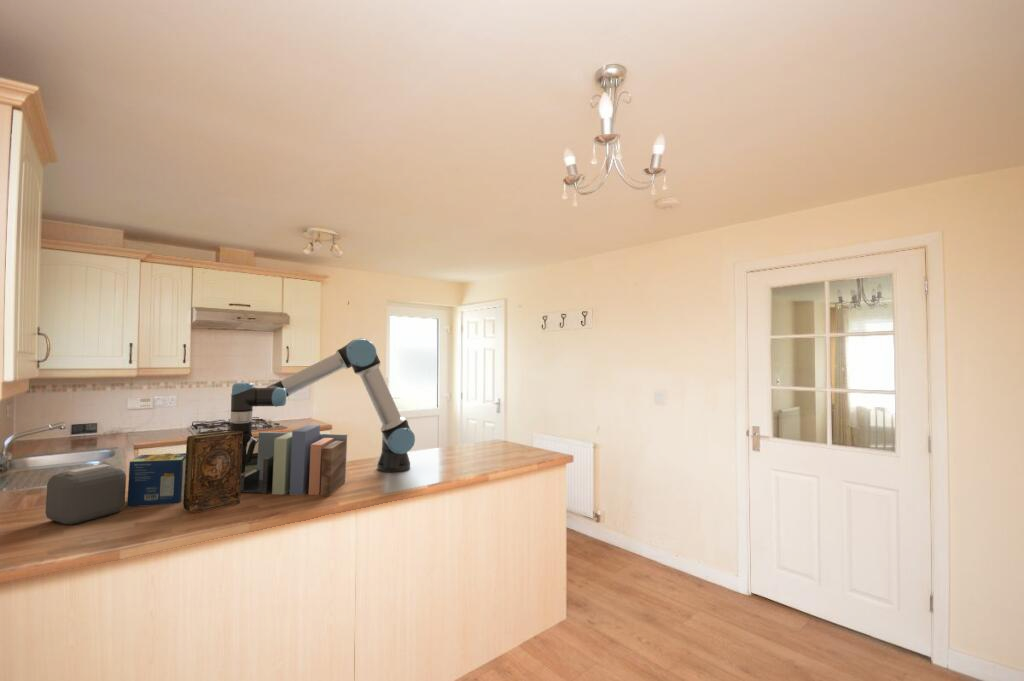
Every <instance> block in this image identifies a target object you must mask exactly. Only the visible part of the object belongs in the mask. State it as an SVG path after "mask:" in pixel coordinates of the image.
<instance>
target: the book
mask: <svg viewBox="0 0 1024 681" xmlns="http://www.w3.org/2000/svg"><path fill="white" fill-rule="evenodd" d="M186 438H187V439H186V447H185V448H186V449H185V453H186V464H185V482H184V499H183V500H182V501H183V503H182V505H183V507H182V508H183V510H188V512H189V513H190V514H196V513H200V512H206V511H211V510H214V509H219V508H223V507H228V506H232V505H236V504H237V505H238V504H240V503H241V492H240V487H241V465H242V444H243V432H242V431H230V430H229V431H223V432H222V431H221V432H213V433H206V434H205V433H204V434H195V435H188V436H187V437H186Z"/></svg>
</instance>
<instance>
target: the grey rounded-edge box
mask: <svg viewBox="0 0 1024 681" xmlns="http://www.w3.org/2000/svg"><path fill="white" fill-rule="evenodd" d="M126 484H127V475H126V472H125V471H124V470H122V469H121V468H115V467H112V466H111V465H110V464H105V463H104V464H98V465H91V466H87V467H81V468H76V469H70V470H68V471H64V472H58V473H56V474H54V475H52V476H51V477H50V478H48V481H47V484H46V497H45V516H46V519H49V520H50V521H53V522H57V523H60V524H64V525H76V524H80V523H83V522H87V521H91V520H94V519H97V518H101V517H105V516H109V515H112V514H116V513H118V512H121V510H122V509H124V506H125V503H126V486H127V485H126Z"/></svg>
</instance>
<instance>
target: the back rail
mask: <svg viewBox="0 0 1024 681" xmlns="http://www.w3.org/2000/svg"><path fill="white" fill-rule="evenodd" d="M288 433H289V432H276V431H275V432H274V431H273V432H272V431H271V432H268V431H261V432H258V438H257V439H258V442H257V444H258V445H257V464H256V470H260V477H259V480H263V463H264V459H265V458H267V457H269V456H271V455H274V440H275V438H278V437H280V436H283V435H285V434H288ZM323 438H334V441H336V440H346V450H345V474H344V484H345V483H346V476H347V472H346V471H347V454H348V453H347V452H348V450H347V448H348V434H346V433H345V434H343V433H340V434H339V433H337V434H336V433H320V440H321V439H323Z"/></svg>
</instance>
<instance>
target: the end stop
mask: <svg viewBox="0 0 1024 681" xmlns="http://www.w3.org/2000/svg"><path fill="white" fill-rule="evenodd" d="M345 450H346V440H336V441H334V442H333V443H331V444H329V445H327V446H326V447H324V448H322V469H321V493H320V494H319V495H320V497H321V496H322V497H330V496H332V495H333V494H334V493H335V492H336V491H337V490H338V489H339V488H341V487H342V486H343V485H344V484H345V483H344V474H345Z"/></svg>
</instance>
